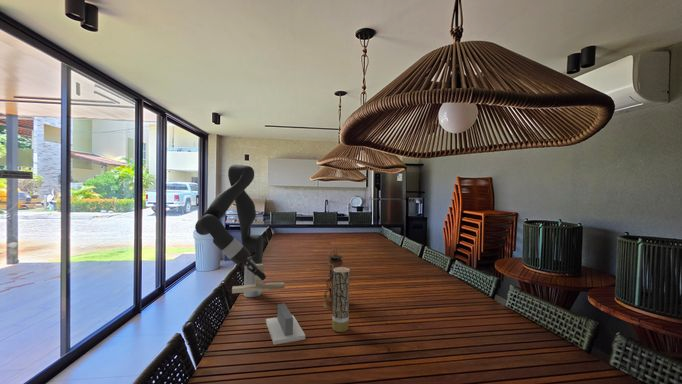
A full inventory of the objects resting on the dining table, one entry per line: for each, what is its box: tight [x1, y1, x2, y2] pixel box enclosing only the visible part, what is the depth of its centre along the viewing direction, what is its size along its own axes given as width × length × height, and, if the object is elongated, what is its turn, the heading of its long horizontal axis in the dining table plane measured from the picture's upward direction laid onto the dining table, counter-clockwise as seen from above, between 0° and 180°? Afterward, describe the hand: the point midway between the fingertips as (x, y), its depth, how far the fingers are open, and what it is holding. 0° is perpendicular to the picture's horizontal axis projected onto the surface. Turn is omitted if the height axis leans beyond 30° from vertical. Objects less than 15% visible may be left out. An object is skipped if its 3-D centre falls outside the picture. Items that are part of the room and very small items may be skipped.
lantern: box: [322, 246, 344, 311], centre depth 143 cm, size 17×13×30 cm
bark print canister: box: [331, 266, 351, 333], centre depth 117 cm, size 7×7×25 cm
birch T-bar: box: [231, 263, 285, 294], centre depth 123 cm, size 3×22×11 cm, turn 113°
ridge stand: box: [265, 303, 306, 346], centre depth 115 cm, size 20×12×8 cm, turn 23°
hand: (263, 277), depth 124 cm, fingers closed on birch T-bar, 3 cm apart
